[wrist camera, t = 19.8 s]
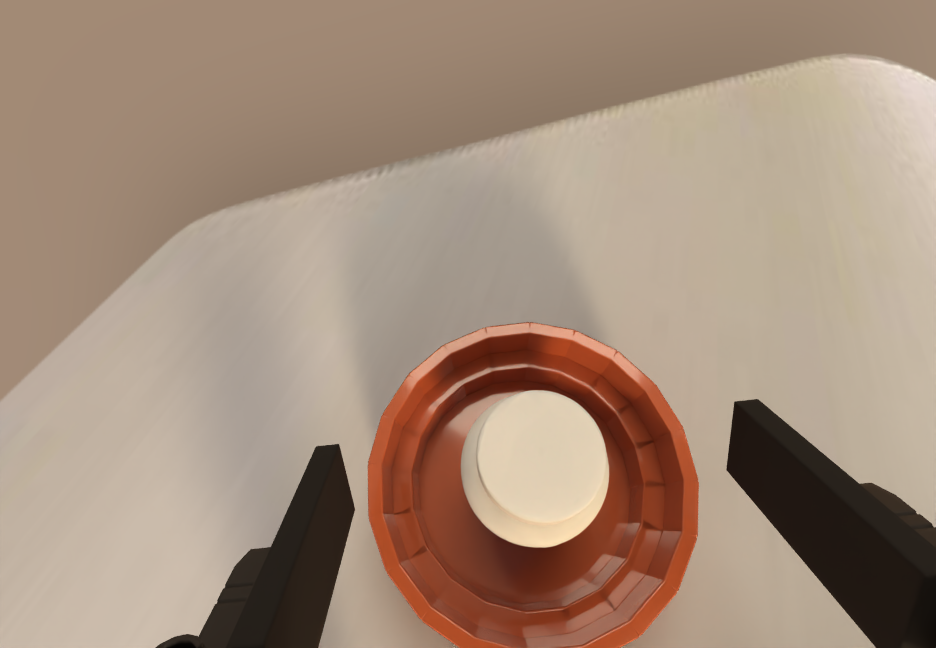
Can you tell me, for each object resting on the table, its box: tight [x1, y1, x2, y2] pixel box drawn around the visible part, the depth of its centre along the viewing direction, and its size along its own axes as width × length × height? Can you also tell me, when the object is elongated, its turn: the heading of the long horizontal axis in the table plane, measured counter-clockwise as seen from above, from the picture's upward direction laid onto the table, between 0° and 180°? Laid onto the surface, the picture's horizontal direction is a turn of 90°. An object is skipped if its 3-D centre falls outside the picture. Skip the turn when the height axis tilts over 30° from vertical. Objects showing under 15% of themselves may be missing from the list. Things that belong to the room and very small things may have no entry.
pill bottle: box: [461, 390, 609, 548], centre depth 18 cm, size 5×5×10 cm
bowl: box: [368, 322, 699, 648], centre depth 21 cm, size 13×13×5 cm
